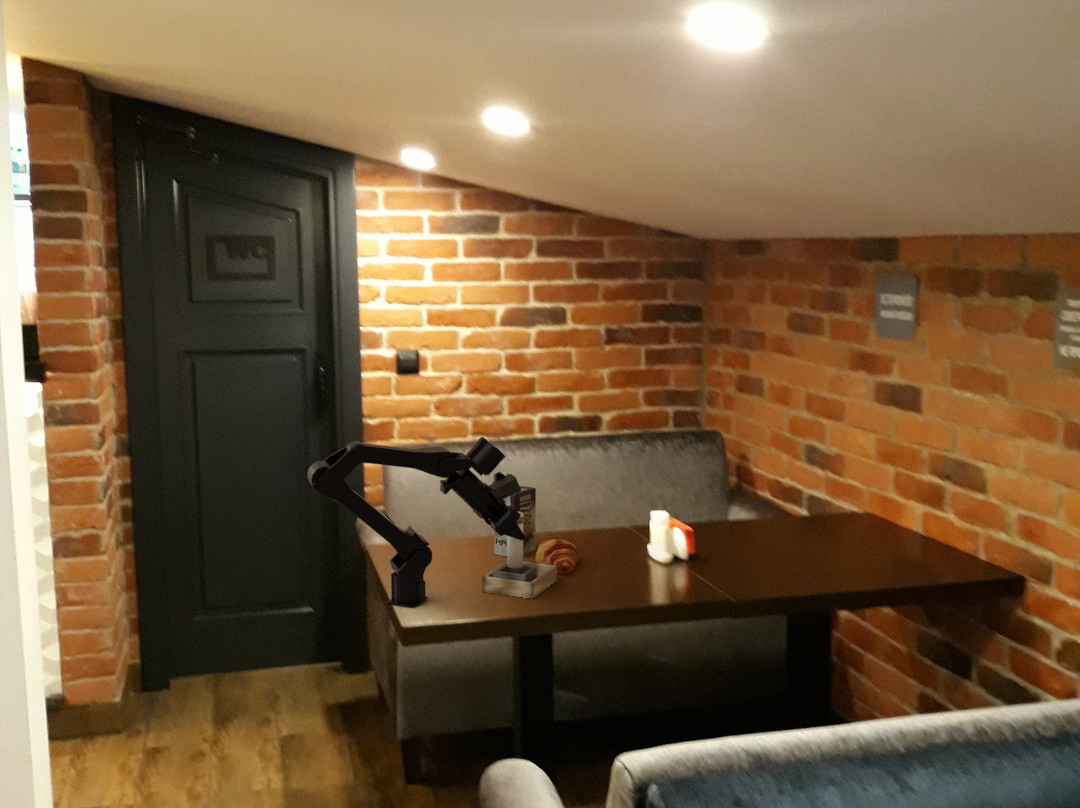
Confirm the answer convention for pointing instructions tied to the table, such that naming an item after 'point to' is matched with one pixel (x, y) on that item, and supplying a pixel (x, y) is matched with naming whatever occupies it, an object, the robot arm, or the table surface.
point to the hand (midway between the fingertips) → (521, 536)
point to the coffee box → (527, 505)
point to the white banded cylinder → (515, 547)
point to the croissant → (557, 555)
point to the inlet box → (520, 580)
